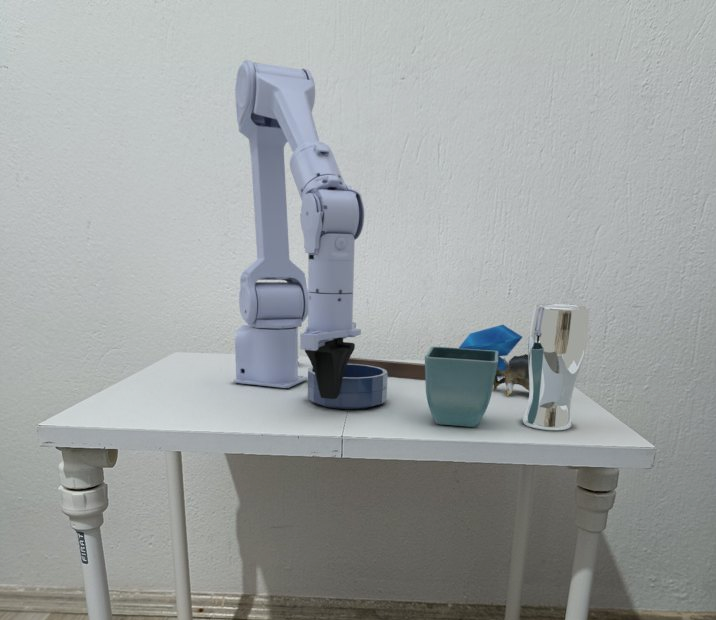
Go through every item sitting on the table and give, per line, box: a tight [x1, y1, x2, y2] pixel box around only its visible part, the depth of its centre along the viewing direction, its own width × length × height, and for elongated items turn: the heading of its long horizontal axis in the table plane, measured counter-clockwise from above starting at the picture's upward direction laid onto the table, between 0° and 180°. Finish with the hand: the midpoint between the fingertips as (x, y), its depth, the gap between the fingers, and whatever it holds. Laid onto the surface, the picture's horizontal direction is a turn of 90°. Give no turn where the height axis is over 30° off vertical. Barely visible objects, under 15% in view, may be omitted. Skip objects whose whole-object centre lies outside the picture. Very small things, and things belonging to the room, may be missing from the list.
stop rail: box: [347, 356, 426, 381], centre depth 115 cm, size 16×2×2 cm, turn 71°
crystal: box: [458, 324, 523, 377], centre depth 118 cm, size 7×9×12 cm
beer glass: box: [522, 303, 590, 431], centre depth 84 cm, size 7×7×15 cm
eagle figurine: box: [492, 353, 529, 397], centre depth 103 cm, size 8×7×9 cm
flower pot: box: [424, 346, 499, 428], centre depth 85 cm, size 9×9×9 cm
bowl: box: [307, 364, 389, 410], centre depth 95 cm, size 11×11×4 cm
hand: (329, 397), depth 89 cm, fingers closed
